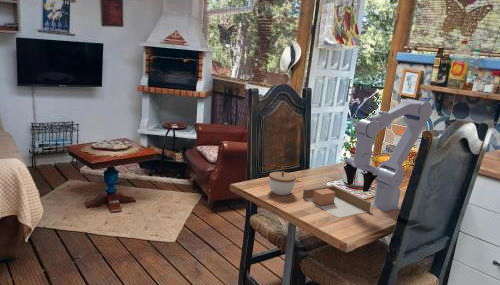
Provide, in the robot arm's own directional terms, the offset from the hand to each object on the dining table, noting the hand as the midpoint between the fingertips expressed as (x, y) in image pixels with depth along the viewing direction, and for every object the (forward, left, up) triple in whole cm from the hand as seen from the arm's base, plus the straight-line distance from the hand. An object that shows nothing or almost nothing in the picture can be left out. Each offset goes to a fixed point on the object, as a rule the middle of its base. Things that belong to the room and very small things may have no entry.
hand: (357, 187), depth 139 cm
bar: (+6, -10, -9) cm, 15 cm away
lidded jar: (+16, -25, -10) cm, 31 cm away
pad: (+6, -10, -9) cm, 15 cm away
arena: (+3, -7, -9) cm, 12 cm away
